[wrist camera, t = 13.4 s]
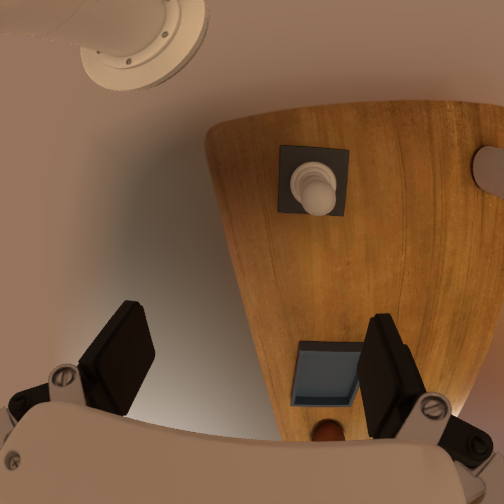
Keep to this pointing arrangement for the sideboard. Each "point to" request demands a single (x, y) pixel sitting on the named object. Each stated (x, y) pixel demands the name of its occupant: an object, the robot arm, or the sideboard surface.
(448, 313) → the sideboard surface
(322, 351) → the tray
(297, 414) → the sideboard surface
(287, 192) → the mat
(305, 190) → the chess piece
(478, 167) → the beverage can
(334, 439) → the potato
